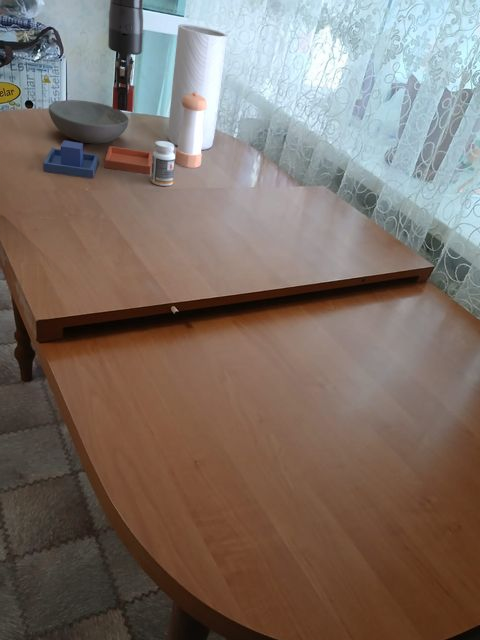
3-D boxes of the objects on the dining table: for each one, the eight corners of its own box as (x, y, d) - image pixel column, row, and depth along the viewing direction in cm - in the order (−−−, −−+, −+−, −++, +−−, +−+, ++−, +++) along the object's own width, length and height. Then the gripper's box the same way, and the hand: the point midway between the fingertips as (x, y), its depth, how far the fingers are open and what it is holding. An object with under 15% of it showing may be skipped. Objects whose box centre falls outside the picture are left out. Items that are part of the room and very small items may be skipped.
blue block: (61, 166, 135) (60, 146, 132) (64, 160, 139) (63, 140, 136) (80, 169, 136) (80, 149, 133) (82, 162, 140) (82, 143, 137)
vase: (210, 154, 167) (226, 39, 148) (163, 145, 165) (173, 27, 147) (214, 141, 178) (229, 32, 160) (170, 132, 177) (181, 21, 158)
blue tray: (43, 171, 132) (42, 163, 131) (51, 155, 141) (51, 147, 140) (93, 178, 134) (93, 170, 133) (98, 162, 143) (98, 154, 142)
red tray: (104, 167, 141) (104, 159, 140) (109, 153, 151) (109, 145, 149) (150, 174, 144) (150, 166, 143) (151, 159, 153) (152, 152, 152)
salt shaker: (195, 170, 153) (204, 98, 142) (171, 163, 154) (177, 90, 143) (203, 163, 159) (212, 93, 148) (180, 156, 160) (187, 86, 149)
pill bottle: (177, 184, 142) (181, 146, 136) (162, 188, 138) (166, 149, 132) (160, 176, 144) (164, 138, 138) (145, 180, 140) (148, 141, 134)
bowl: (103, 126, 168) (103, 99, 163) (141, 150, 158) (143, 122, 153) (36, 129, 154) (35, 100, 150) (73, 155, 144) (73, 124, 139)
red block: (112, 109, 131) (113, 86, 128) (114, 104, 135) (115, 82, 132) (132, 112, 132) (133, 90, 129) (133, 107, 136) (134, 85, 133)
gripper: (112, 20, 128) (110, 97, 138) (105, 29, 117) (104, 112, 127) (144, 26, 129) (140, 102, 139) (140, 36, 118) (137, 117, 128)
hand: (123, 106), depth 133 cm, fingers closed on red block, 4 cm apart
